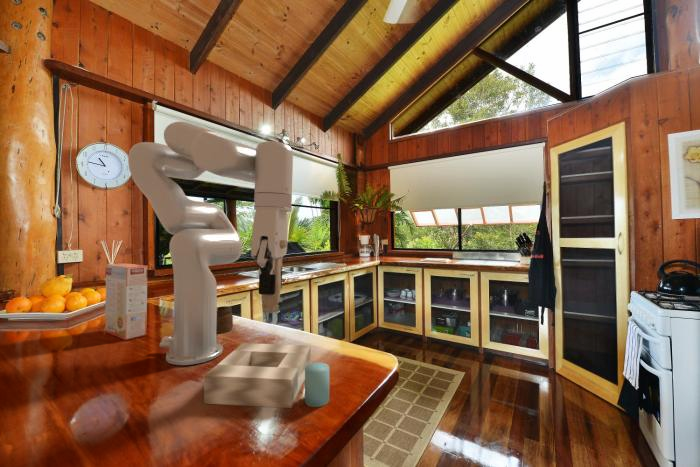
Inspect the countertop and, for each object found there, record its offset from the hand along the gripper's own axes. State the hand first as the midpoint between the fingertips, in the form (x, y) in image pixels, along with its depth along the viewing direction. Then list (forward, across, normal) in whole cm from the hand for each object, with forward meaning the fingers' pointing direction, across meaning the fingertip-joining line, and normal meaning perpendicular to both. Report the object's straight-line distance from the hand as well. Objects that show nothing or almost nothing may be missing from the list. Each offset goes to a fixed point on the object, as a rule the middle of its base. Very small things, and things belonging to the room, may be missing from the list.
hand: (270, 290), depth 62 cm
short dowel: (+18, +7, +11) cm, 23 cm away
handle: (+4, 0, 0) cm, 4 cm away
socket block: (+19, +1, 0) cm, 19 cm away
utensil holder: (+20, -30, -24) cm, 44 cm away
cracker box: (+20, -25, -52) cm, 61 cm away
